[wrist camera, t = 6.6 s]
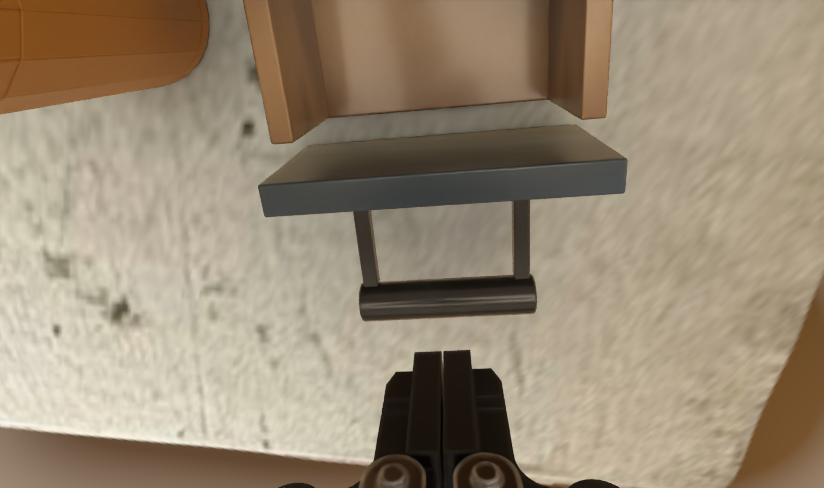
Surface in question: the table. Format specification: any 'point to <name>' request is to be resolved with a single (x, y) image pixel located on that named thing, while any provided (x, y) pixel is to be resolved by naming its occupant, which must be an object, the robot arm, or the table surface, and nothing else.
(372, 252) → the drawer
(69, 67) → the jar
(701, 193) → the table surface
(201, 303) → the table surface
